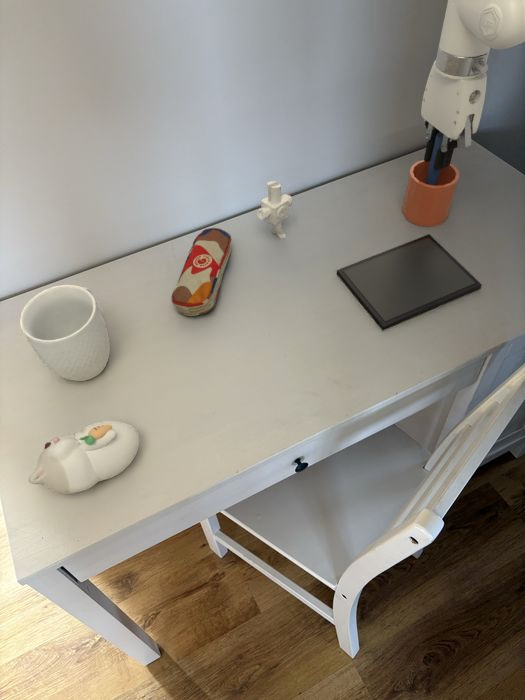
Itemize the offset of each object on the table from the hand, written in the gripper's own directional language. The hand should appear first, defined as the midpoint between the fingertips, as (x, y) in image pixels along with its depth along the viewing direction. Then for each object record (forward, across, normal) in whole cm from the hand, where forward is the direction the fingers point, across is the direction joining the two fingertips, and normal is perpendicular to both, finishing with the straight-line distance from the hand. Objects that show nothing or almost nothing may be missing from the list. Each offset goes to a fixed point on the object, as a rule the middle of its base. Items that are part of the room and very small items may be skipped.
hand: (436, 162), depth 97 cm
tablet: (+11, -14, +14) cm, 23 cm away
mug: (+11, -4, +70) cm, 71 cm away
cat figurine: (+11, -24, +74) cm, 78 cm away
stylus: (+8, 0, 0) cm, 8 cm away
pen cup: (+11, 0, 0) cm, 11 cm away
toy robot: (+11, +8, +29) cm, 32 cm away
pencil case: (+11, +4, +45) cm, 47 cm away
